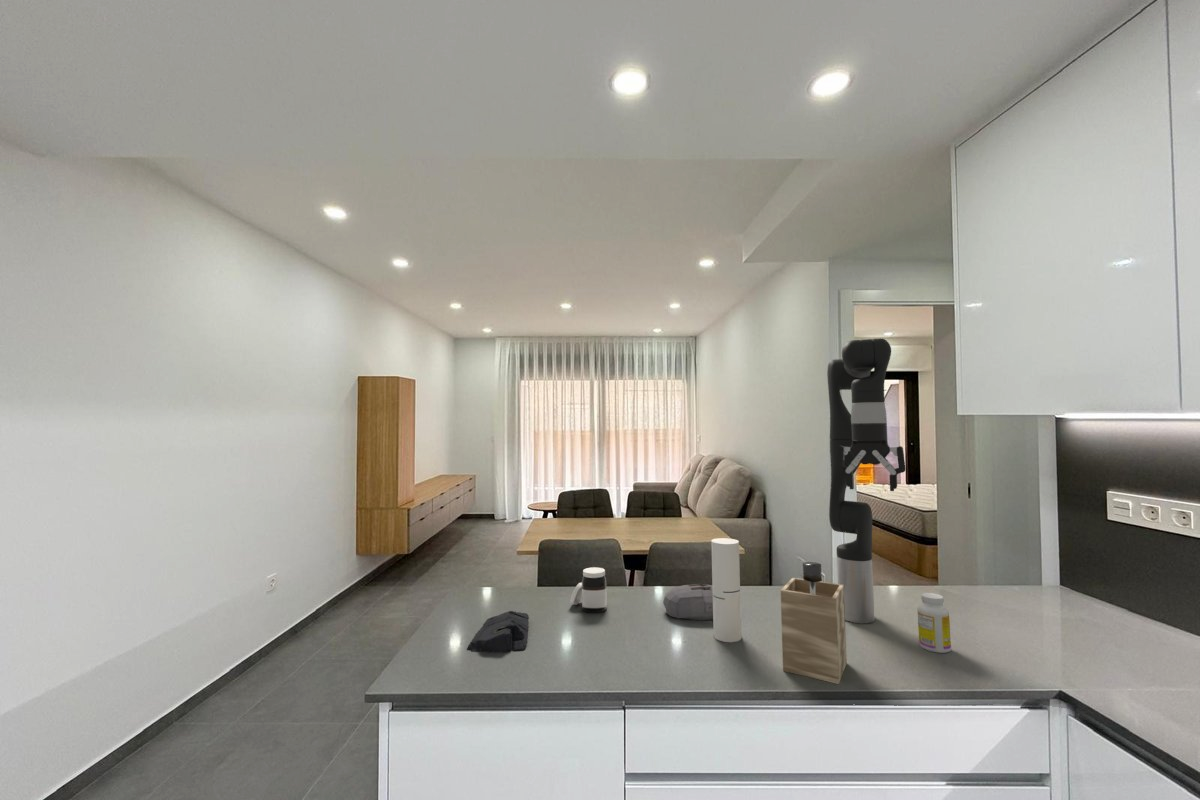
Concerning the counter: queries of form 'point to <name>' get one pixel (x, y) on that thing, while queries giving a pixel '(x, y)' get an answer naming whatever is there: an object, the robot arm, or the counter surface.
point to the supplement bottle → (933, 624)
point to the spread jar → (591, 590)
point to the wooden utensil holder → (813, 630)
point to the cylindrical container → (726, 589)
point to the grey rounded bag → (690, 602)
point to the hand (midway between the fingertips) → (871, 489)
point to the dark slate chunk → (502, 633)
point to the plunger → (812, 574)
